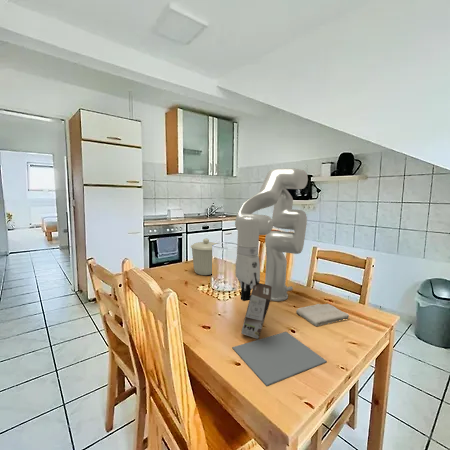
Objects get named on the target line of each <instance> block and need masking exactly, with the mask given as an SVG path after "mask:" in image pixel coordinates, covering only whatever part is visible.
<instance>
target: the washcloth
mask: <svg viewBox="0 0 450 450" xmlns="http://www.w3.org/2000/svg"><path fill="white" fill-rule="evenodd" d="M295 312H296V314H297V315H298V316H300V317H301V318H304V320H306V321H307V322H308V323H310V324H311V325H312V326H314V327H319V326H325V325H329V324H328V323H330V324H333V323H332V322H335V323H337V322H336V321H339V320H343V319H348V318H349V317H350V316H349V313H348V312H347V313H346V312H344V311H342V310H341V309H339V308H338V307H335V306H334V305H332V304H330V303H324V304H320V303H317V304H313V305H307V306H303V307H299V308H297V309H296V311H295ZM339 322H340V321H339ZM324 324H325V325H324Z"/></svg>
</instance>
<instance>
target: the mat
mask: <svg viewBox="0 0 450 450" xmlns="http://www.w3.org/2000/svg"><path fill="white" fill-rule="evenodd" d="M232 350H234V352H235V353H236V354H237V355H238V356H239V358H241V360H242V361H243V362H244V363H245V365H247V367H248V368H249V369H250V370H251V371H252V372H253V373H254V374H255V376H257V377H258V378H259V380H260V381H261V382H262V383H263V384H264V386H266V387H269V386H271V385H273V384H275V383H278V382H280V381H282V380H286V379H288V378H291V377H293V376H296V375H298V374H301V373H303V372H306V371H308V370H311V369H313V368H317V367H319V366H321V365H323V363H324V364H326V363H327V360H326V359H324V357H321V356H320V355H319V354H318V353H317V352H315V351H313V350H312V349H311V348H309V346H307V345H305V344H304V343H303V342H302V341H300V340H298V339H297V338H296V337H294V336H293V335H292V334H290V333H288V332H287V331H282V332H280V333H277V334H273V335H270V336H266V337H262V338H260V339H255V340H252V341H250V342H249V341H248V342H246V343H243V344H239V345H235V346H232Z"/></svg>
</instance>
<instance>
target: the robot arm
mask: <svg viewBox="0 0 450 450" xmlns="http://www.w3.org/2000/svg"><path fill="white" fill-rule="evenodd" d="M308 176H309V175H308V174H307V172H306V170H304V169H299V168H294V167H293V168H288V167H287V168H286V167H285V168H272V169H270V170H269V171H268V172H267V174H266V176H265V178H264V180H263V183H262V185H261V187H260V189H259V191H258V193H256V194H254V195H253V196H251V197H250V198H248V199H247V200H246V201H244V202H243V204H241V207H240V208H239V210H238V213H237V215H236V217H235V221H234V226H235V229H236V230H237V246H236V259H235V260H236V261H235V278H237V281H238V282H239V284H240V285H239V286H240V300H241V301H242V302H247V301H248V302H249V300H250V297H251V293H252V289H253V286H254V285H256V283H255V282H257V283H260V281H261V268H260V267H261V264H260V256H259V244H260V243H259V241H260V236H265V237H264V241H265V242H264V243H265V251H266V252H265V253H266V258H265V278H264V279H265V280H264V284H265V285H269V286H272V289H271V301H272V302H282V301H286V300H288V298H289V294H288V292H290V291H293V289H294V288H293V287H292V286H287V285H286V279H287V261H288V260H287V258H286V256H285V254H284V253H287V254H291V255H292V254H294V255H299V254H301V253H302V252H303V250H304V245H305V239H306V238H305V236H306V230H307V225H308V216H307V213H306V211H304V210H303V209H293V205H294V204H293V203H294V199H293V196H292V195H291V193H290V192H289V190H302V189H303V190H304V189H305V188H306V187H307V185H308V181H309V178H308ZM269 207H273V209H272V210H273V211H272V216H271V217H270V216H269V215H266V214H265V215H264V214H256V213H255V212H257V211H260V210H263V209H266V208H269ZM273 228H276V229H281V230H282V231H281V230H273ZM283 230H290V231H283ZM291 231H294V232H291Z"/></svg>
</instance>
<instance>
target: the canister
mask: <svg viewBox="0 0 450 450" xmlns="http://www.w3.org/2000/svg"><path fill="white" fill-rule="evenodd" d="M214 244H218V243H216V242H214V241H213V242H211V241H210V239H209V238H204V239H203V240H202V241H199V242H195V243H192V244H191V245H190V248H191V251H192V263H193V270H194V272H195V273H196V274H197V275H199V276H211V274H212V245H214ZM212 275H213V274H212Z"/></svg>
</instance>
